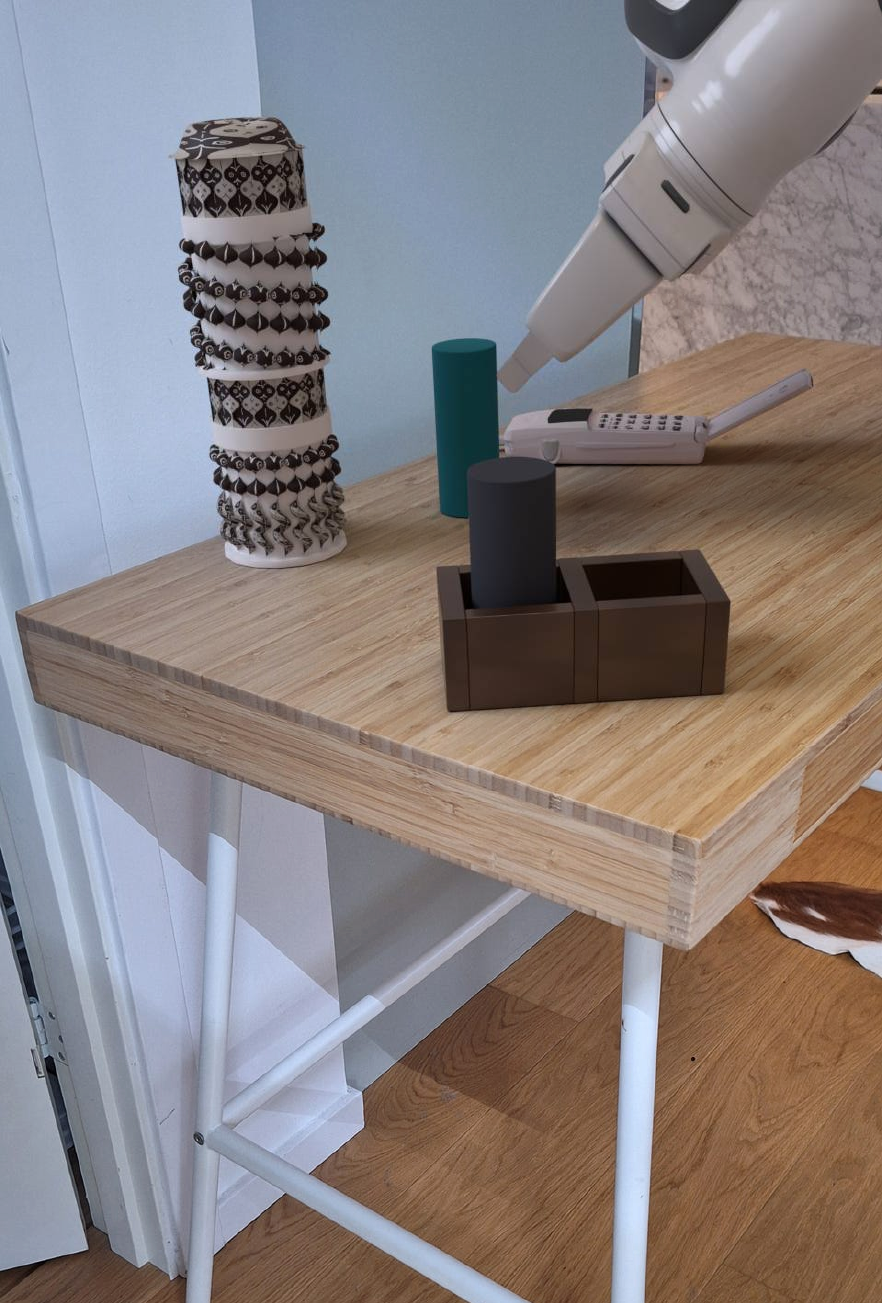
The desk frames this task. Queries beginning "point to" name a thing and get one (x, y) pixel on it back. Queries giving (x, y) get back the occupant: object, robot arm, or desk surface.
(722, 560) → the desk surface
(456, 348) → the teal cylinder
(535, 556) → the seated dark gray cylinder
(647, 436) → the mobile phone
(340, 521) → the white patterned tall cylinder
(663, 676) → the mount block
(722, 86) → the robot arm
